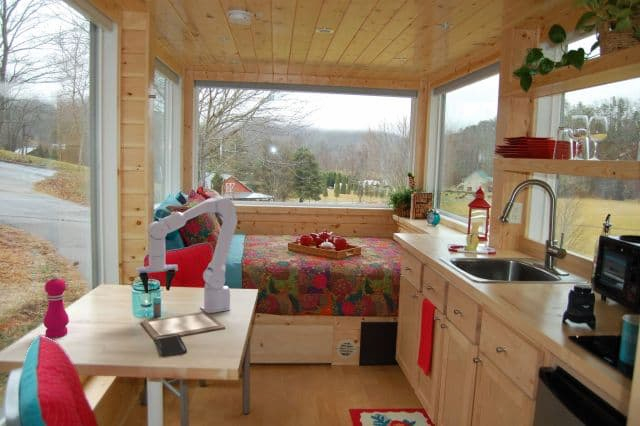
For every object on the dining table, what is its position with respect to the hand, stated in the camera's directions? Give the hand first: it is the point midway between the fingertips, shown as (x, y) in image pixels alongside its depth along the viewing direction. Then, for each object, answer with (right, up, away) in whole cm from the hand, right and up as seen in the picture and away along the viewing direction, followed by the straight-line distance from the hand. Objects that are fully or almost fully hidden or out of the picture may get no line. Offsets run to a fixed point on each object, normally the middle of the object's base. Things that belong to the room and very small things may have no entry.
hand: (157, 291), depth 178 cm
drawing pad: (+12, -11, -8) cm, 18 cm away
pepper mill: (-26, -11, -20) cm, 34 cm away
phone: (+12, -14, -25) cm, 31 cm away
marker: (0, -9, +1) cm, 9 cm away
